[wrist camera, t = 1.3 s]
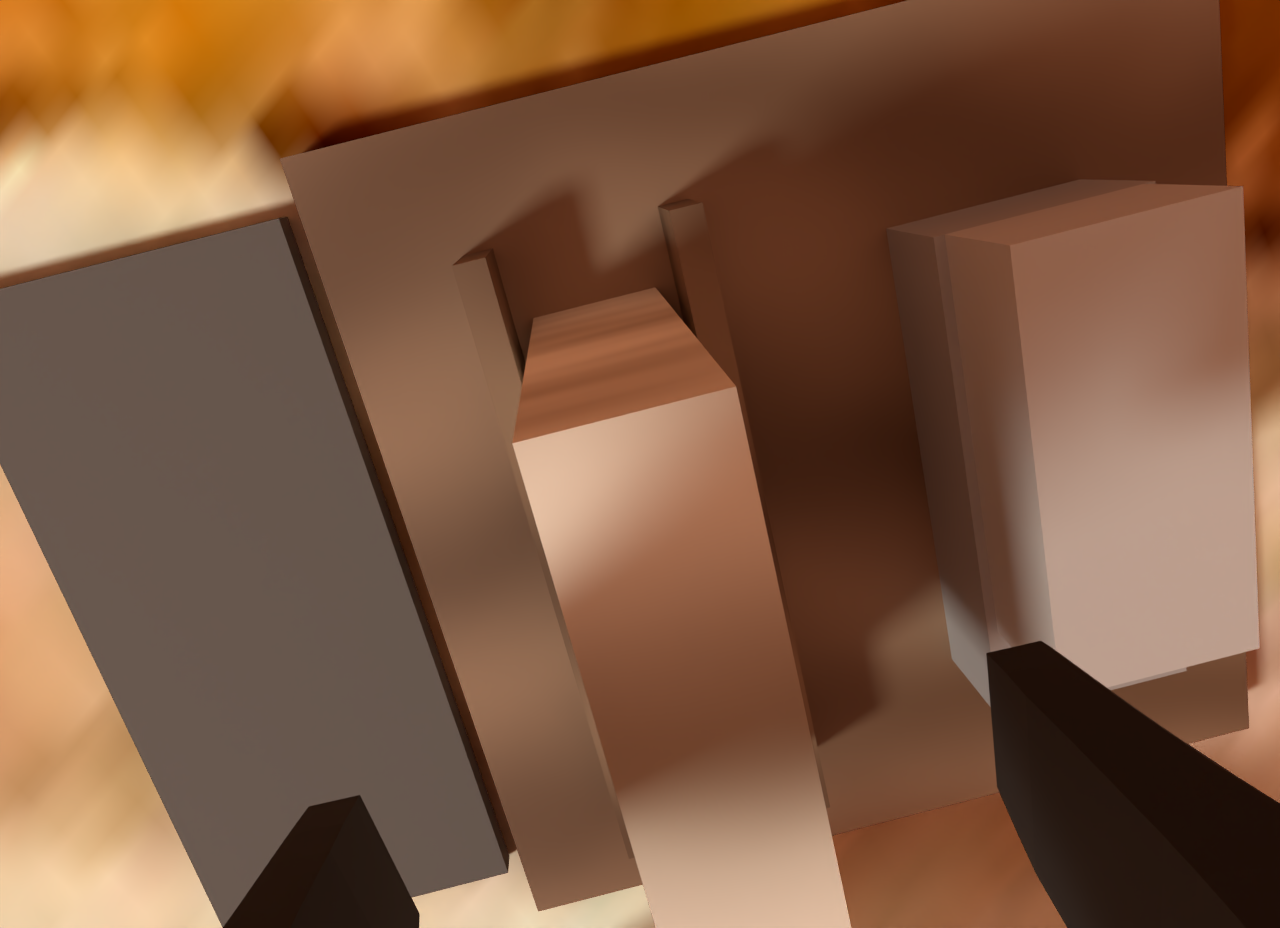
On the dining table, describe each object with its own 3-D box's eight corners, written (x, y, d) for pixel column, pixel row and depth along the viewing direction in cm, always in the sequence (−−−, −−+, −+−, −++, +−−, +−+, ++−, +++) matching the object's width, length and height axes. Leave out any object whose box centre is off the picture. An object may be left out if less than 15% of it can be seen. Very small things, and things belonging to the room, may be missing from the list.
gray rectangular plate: (509, 855, 24) (508, 872, 23) (238, 925, 24) (230, 944, 23) (287, 217, 19) (278, 218, 18) (-56, 303, 19) (-75, 308, 18)
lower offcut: (1118, 616, 22) (1186, 670, 20) (951, 659, 22) (1000, 718, 20) (1079, 179, 19) (1155, 180, 16) (886, 228, 19) (933, 237, 16)
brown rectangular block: (753, 709, 22) (878, 1058, 13) (649, 736, 22) (707, 1102, 13) (655, 287, 19) (735, 386, 10) (533, 318, 19) (512, 442, 10)
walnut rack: (1222, 706, 24) (1310, 777, 21) (539, 882, 24) (536, 978, 21) (1182, -65, 19) (1295, -108, 16) (293, 159, 18) (245, 157, 16)
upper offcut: (1171, 588, 19) (1259, 648, 17) (998, 632, 19) (1060, 699, 17) (1144, 183, 16) (1242, 186, 14) (944, 234, 16) (1009, 245, 14)
